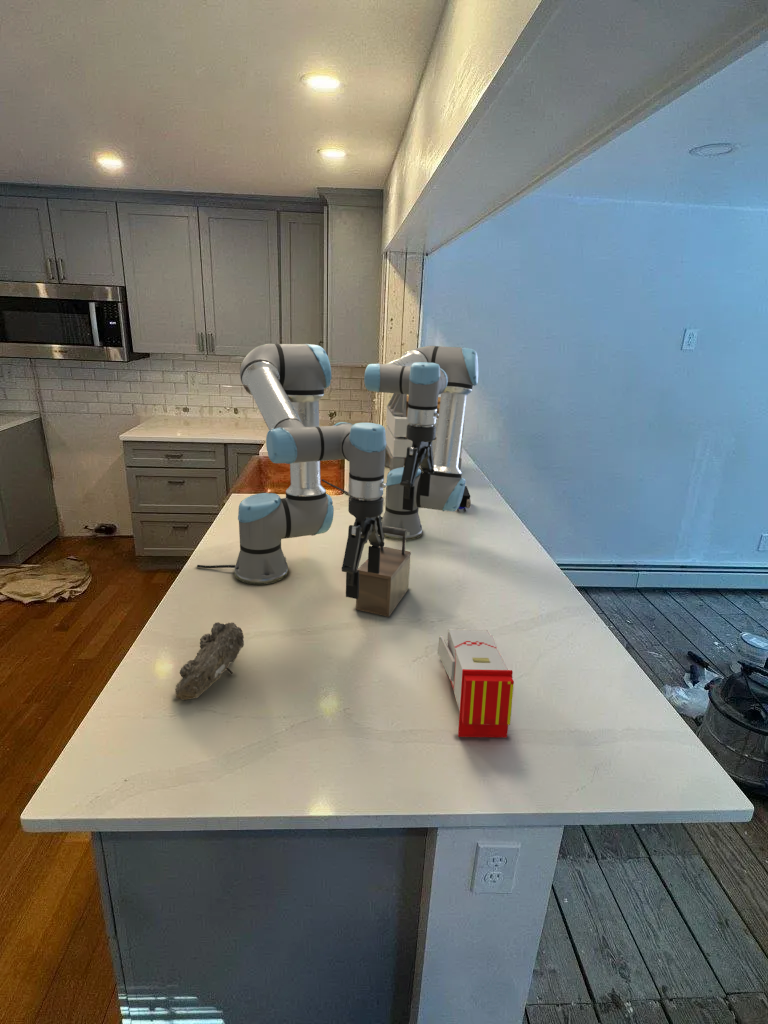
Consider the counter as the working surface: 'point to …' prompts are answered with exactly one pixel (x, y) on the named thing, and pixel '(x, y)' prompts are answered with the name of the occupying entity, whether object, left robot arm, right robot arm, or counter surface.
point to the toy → (478, 682)
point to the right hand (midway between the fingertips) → (416, 502)
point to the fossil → (210, 660)
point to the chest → (382, 591)
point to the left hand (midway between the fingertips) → (363, 584)
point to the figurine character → (465, 500)
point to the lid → (389, 556)
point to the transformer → (402, 432)
